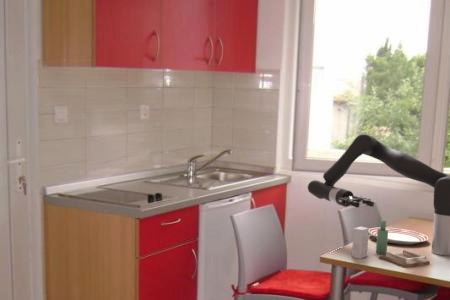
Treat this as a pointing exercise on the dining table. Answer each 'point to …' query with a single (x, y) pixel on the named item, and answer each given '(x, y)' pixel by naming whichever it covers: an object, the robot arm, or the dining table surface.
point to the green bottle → (382, 239)
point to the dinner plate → (401, 236)
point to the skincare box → (360, 242)
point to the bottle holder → (405, 259)
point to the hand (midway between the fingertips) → (366, 204)
